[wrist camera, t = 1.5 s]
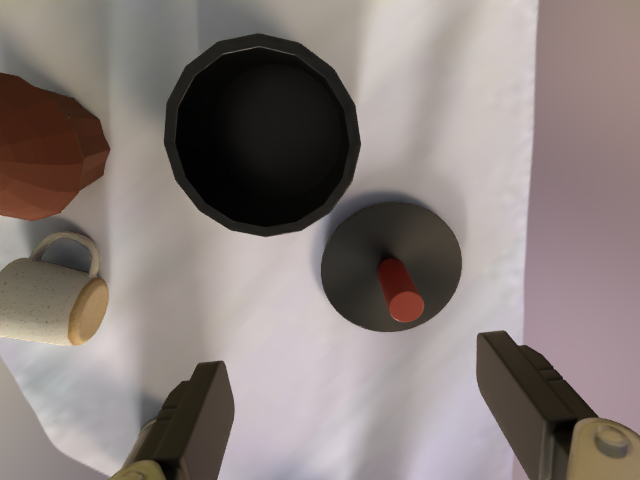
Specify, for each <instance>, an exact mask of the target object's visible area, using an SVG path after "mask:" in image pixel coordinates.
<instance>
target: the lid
mask: <svg viewBox="0 0 640 480" xmlns="http://www.w3.org/2000/svg"><path fill="white" fill-rule="evenodd" d="M461 270H462V257H461V251H460V247H459V244H458V241H457V239H456V237H455V235H454V233H453V232H452V230H451V229H450V228H449V226H448V225H447V224H446V223H445V222H444V221H443V220H442V219H441V218H439V217H438V216H437V215H436V214H434V213H433V212H431V211H429V210H428V209H426V208H423V207H421V206H418V205H415V204H411V203H405V202H385V203H379V204H375V205H371V206H368V207H366V208H363V209H361V210H359V211H358V212H356V213H354V214H352V215H351V216H350V217H348V218H347V219H346V220H345V221H343V222H342V223H341V224H340V225H339V226H338V228H337V229H336V230H335V231H334V232H333V234H332V236H331V237H330V239H329V240H328V243H327V245H326V247H325V250H324V253H323V256H322V263H321V278H322V284H323V288H324V291H325V293H326V296H327V298H328V300H329V301H330V303H331V304H332V306H333V307H334V308H335V309H336V311H337V312H338V313H339V314H340V315H342V316H343V317H344V318H345V319H347V320H348V321H350V322H351V323H353V324H355V325H357V326H359V327H362V328H365V329H368V330H372V331H379V332H396V331H402V330H407V329H410V328H413V327H416V326H418V325H421V324H423V323H425V322H426V321H428V320H430V319H431V318H433V317H434V316H435V315H436V314H438V313H439V312H440V311H441V310H442V309H443V308H444V307H445V306H446V305H447V303H448V302H449V301H450V299H451V298H452V296H453V294H454V293H455V291H456V288H457V286H458V283H459V280H460V276H461Z"/></svg>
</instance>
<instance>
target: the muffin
mask: <svg viewBox="0 0 640 480" xmlns="http://www.w3.org/2000/svg"><path fill="white" fill-rule="evenodd" d="M109 152H110V147H109V145H108V143H107V141H106V139H105V136H104V134H103V130H102V126H101V123H100V120H99V119H98V118H96V117H95V116H94V115H92V114H91V113H89V112H88V111H86V110H85V109H84V108H83V107H82V106H81V105H80V104H79V103H78V102H77V101H76V100H75V99H74V98H71V97H67V96H64V95H61V94H57V93H54V92H51V91H47V90H44V89H40V88H37V87H34V86H32V85H31V84H29V83H28V82H26V81H25V80H23V79H22V78H20V77H19V76H15V75H10V74H5V73H0V215H2V216H8V217H13V218H19V219H25V220H30V221H35V220H39V219H42V218H45V217H49V216H52V215H56V214H59V213H61V212H62V211H63V210H64V209H65V207H66V206H67V205H68V204H69V203H70V202H71V201H72V200H73V199H74V197H75V196H76V195H77V194H78V193H79V191H80V190H82V189H83V188H85V187H86V186H88V185H89V184H91V183H92V182H94V181H95V180H97V179H98V178H100V177H101V176H103V174H104V168H105V162H106V159H107V157H108V154H109Z"/></svg>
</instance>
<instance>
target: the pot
mask: <svg viewBox="0 0 640 480" xmlns="http://www.w3.org/2000/svg"><path fill="white" fill-rule="evenodd" d="M164 145H165V148H166V151H167V154H168V158H169V161H170V164H171V167H172V170H173V174H174V177H175V180H176V181H177V183H178V184H179V185H180V187H181V188H182V189H183V190H184V192H185V193H186V194H187V196H188V197H189V198H190V199H191V201H192V202H193V203H194V205H195V206H196V207H197V208H198V210H199V211H200V212H202V213H204V214H205V215H207V216H209V217H210V218H212V219H213V220H215V221H217V222H218V223H220V224H221V225H223V226H225V227H226V228H228V229H229V230H232V231H237V232H242V233H247V234H252V235H257V236H262V237H270V236H276V235H281V234H287V233H293V232H298V231H302V230H303V229H305V228H306V227H308V226H310V225H311V224H313V223H314V222H316V221H318V220H319V219H321V218H322V217H324V216H326V215H327V214H329V213H330V212H331V211H332V210H333V208H334V207H335V205H336V204H337V203H338V201H339V200H340V198H341V197H342V196H343V194H344V193H345V192H346V190H347V189H348V187H349V186H350V185H351V183H352V181H353V176H354V172H355V168H356V164H357V160H358V156H359V151H360V147H361V141H360V134H359V127H358V121H357V114H356V107H355V104H354V102H353V100H352V99H351V97H350V95H349V94H348V92H347V90H346V88H345V87H344V85H343V83H342V82H341V80H340V78H339V76H338V75H337V73H336V71H335V70H334V69H333V68H332V67H331V66H330V65H328V64H327V63H326V62H324V61H323V60H322V59H321V58H319V57H318V56H317V55H315V54H314V53H313V52H311V51H310V50H309V49H307V48H306V47H305V46H303V45H302V44H299V43H298V42H294V41H290V40H286V39H281V38H277V37H273V36H268V35H264V34H258V33H257V34H252V35H247V36H243V37H238V38H233V39H228V40H224V41H219V42H217V43H215V44H214V45H213V46H212V47H210V48H209V49H208V50H206V51H205V52H204V53H202V54H201V55H200V56H199V57H197V58H196V59H195V60H193V61H192V62H191V63H190V64H188V65H187V66H186V67H185V69H184V70H183V72H182V74H181V76H180V78H179V80H178V82H177V84H176V86H175V88H174V90H173V92H172V94H171V95H170V97H169V99H168V101H167V108H166V121H165V134H164Z"/></svg>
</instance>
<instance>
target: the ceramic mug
mask: <svg viewBox="0 0 640 480" xmlns="http://www.w3.org/2000/svg"><path fill="white" fill-rule="evenodd" d="M60 237H67V238H70V239H73V240H76V241H79V242H80V243H81V244H82V245H83V246H86V248H88V249H89V251H90V255H91V266H90V269H89V273H87V272H83V271H78V270H74V269H69V268H66V267H62V266H59V265H55V264H52V263H49V262H44V261H41V257H42V255H43V253H44V252H45V250H46V249H47V248H48V246H49V245H50V244H51V243H52V242H53V241H55V240H56V239H58V238H60ZM99 267H100V254H99V250H98V248H97V246H96V245H95V243H94V242H93V241H92V240H91V239H89V238H88V237H86V236H84V235H81V234H79V233H74V232H67V231H60V232H56V233H53V234H51V235H49V236H47V237H46V238H44V239H43V240H42V241H41V242H40V243H39V244H38V245H37V246H36V248H35V249H34V251H33V252H32V254H31V256H30V258H20V259H17V260H15V261H13V262H11V263H10V264H8V265H7V266H6V267H5V268H4V269H3V270H2V271H1V272H0V337H8V338H15V339H22V340H28V341H36V342H43V343H49V344H55V345H64V346H68V345H81V344H83V343H85V342H87V341H88V340H89V339H91V338H92V336H93V335H94V334H95V333H96V331H97V330H98V328H99V327H100V325H101V323H102V320H103V318H104V316H105V313H106V309H107V305H108V298H109V292H108V287H107V285H106V283H105V281H104V280H103V279H101V278H99V277H97V273H98V270H99Z"/></svg>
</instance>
